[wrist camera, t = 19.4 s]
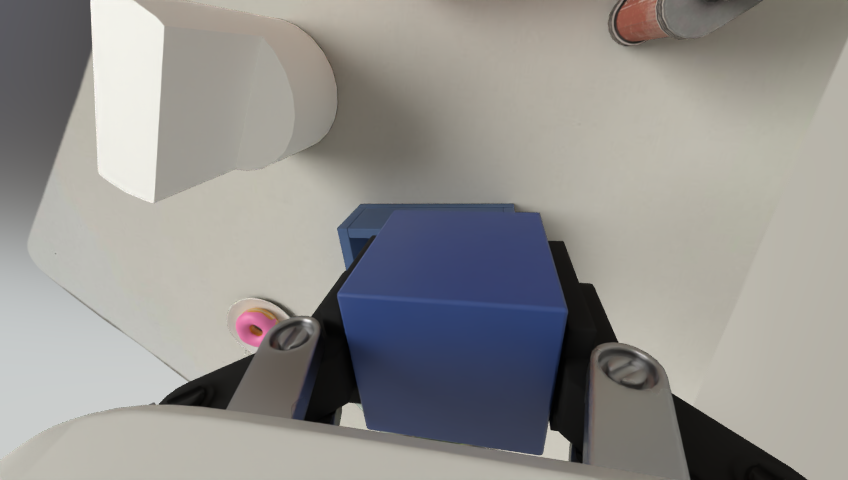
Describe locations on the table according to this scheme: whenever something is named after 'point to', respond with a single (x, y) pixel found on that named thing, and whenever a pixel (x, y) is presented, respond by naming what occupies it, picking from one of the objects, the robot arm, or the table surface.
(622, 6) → the lighter
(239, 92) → the cylinder with rectangular tab
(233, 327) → the donut
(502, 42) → the table surface
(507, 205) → the blue bin
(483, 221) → the blue block
